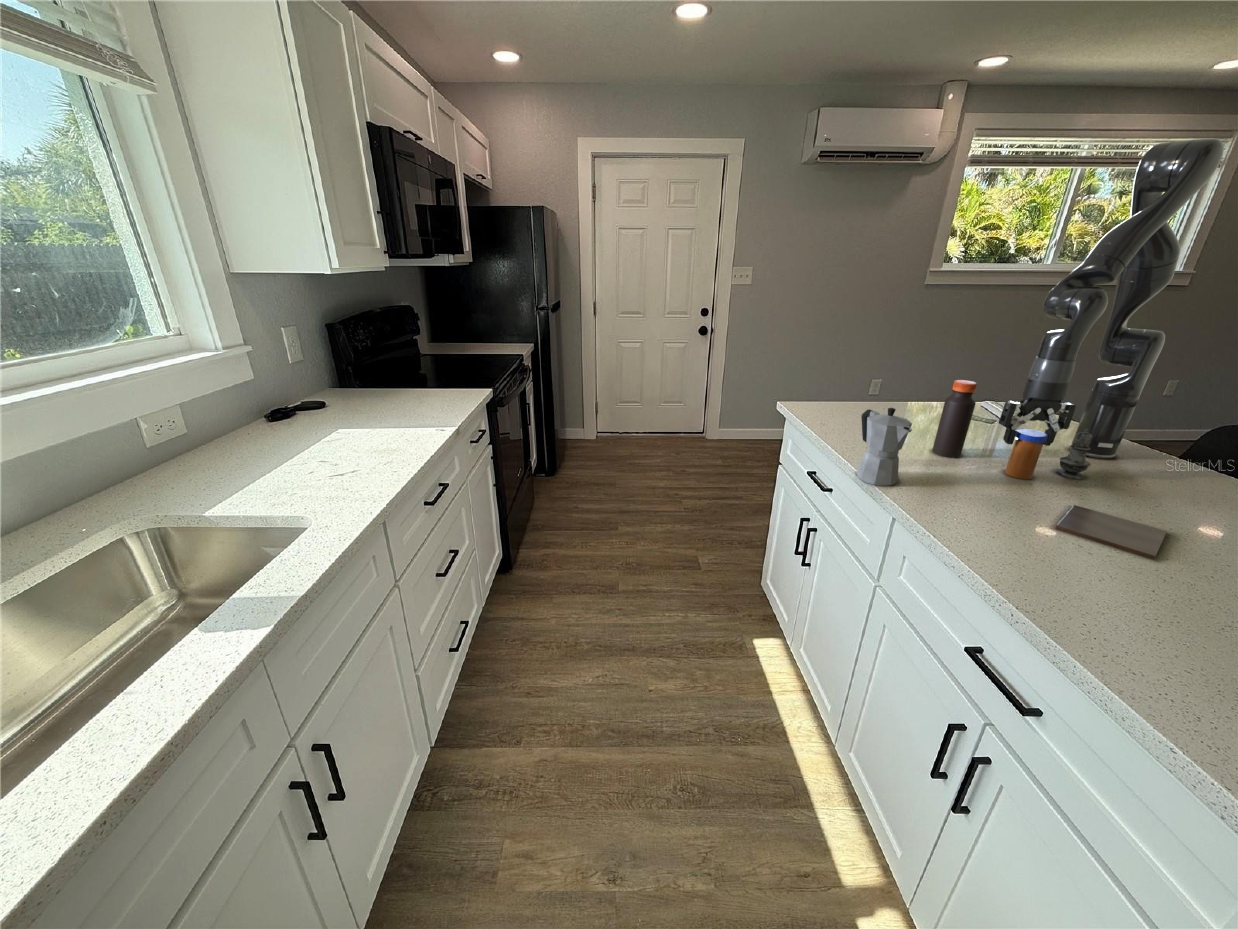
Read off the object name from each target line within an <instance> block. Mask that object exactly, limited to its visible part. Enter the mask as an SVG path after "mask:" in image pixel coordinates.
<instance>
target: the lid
mask: <svg viewBox="0 0 1238 929" xmlns="http://www.w3.org/2000/svg"><path fill="white" fill-rule="evenodd" d="M1016 430H1017V432H1016V436H1015V439H1016V438H1018V439H1021V440H1024V441H1028V442H1034V443H1043V442H1046V441H1047V438H1048V435H1047V434H1046V433H1045V431H1044V432H1043V431H1040V430H1037V429H1029V428H1018V429H1016Z"/></svg>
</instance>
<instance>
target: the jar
mask: <svg viewBox="0 0 1238 929" xmlns="http://www.w3.org/2000/svg"><path fill="white" fill-rule="evenodd" d="M1012 445H1013V446H1012V448H1011V451H1010V454H1009V458H1008V460H1007V464H1006V467H1005V470H1004V473H1005V475H1007V476H1009V477H1011V478H1014V479H1019V480H1031V479H1032V478H1033V475H1034V472H1035V470H1036V466H1037V464H1038V462H1039V458H1040V456H1041V452H1042V450H1043V447H1044V443H1034V442H1028V441H1024V440H1021V439H1018V438H1016V437H1015V439H1014V442H1013V444H1012Z"/></svg>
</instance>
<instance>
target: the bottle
mask: <svg viewBox="0 0 1238 929" xmlns="http://www.w3.org/2000/svg"><path fill="white" fill-rule="evenodd" d="M977 385H978V383H977V382H975V381H972V380H965V379H955V380H954V381H953V385H952V390H951V391H952V394H951V395H948V397H946V398H945V400H944V403H943V407H942V411H941V415H940V419H939V422H938V426H937V430H936V434H935V437H934V442H933V445H932V453H934V454H935V455H937V456H941V457H946V458H958V457H961V455H962V452H963V449H964V446H965V442H966V438H967V434H968V432H969V429H970V424H971V421H972V418H973V414H974V410H975V408H976V404H977V403H976V400H975V399H974V398H973V395H974V394H975V392H976V389H977Z"/></svg>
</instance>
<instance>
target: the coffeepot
mask: <svg viewBox="0 0 1238 929" xmlns="http://www.w3.org/2000/svg"><path fill="white" fill-rule="evenodd" d="M896 411H897V409H896V408H894V407H888V408H887V414H880V412H878V411H876V410H875V411H874V410H872V409H871V408H870V409H866V410H865V411H864V412H862V413H861V419H860V420H861V435H862V442H864V443H866V445H867V450H866V451H864V453H863V456H862V459H861V461H860V464H859V465H858V468H857V470H856V472H855V473H856V476H857V478H858V479H859V480H860V481H862V482H864V483H867V484H871V485H874V486H881V487H889V486H893V485H896V483H898V482H899V467H900V464H899V462H900V458H899V452H900V450H902V449H903V446H904V444H905V442H906V439H907V437H908V435H909V433H912V431H913V429H912V425H913V422H911V421H910V420H909V419H907V418H905V417H901V416H897V415H895V412H896Z"/></svg>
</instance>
